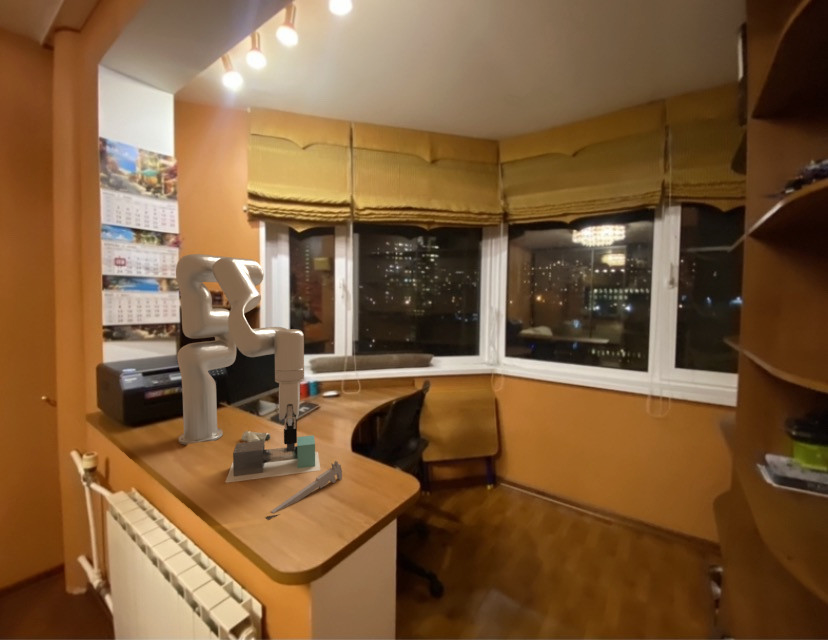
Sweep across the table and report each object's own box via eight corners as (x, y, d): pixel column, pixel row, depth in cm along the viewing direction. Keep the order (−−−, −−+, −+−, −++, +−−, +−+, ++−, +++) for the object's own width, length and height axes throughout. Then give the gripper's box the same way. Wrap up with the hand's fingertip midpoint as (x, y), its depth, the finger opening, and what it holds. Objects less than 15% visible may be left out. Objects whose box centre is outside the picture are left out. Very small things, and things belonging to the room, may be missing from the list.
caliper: (339, 482, 95) (339, 458, 95) (342, 483, 95) (342, 459, 94) (265, 519, 79) (265, 491, 79) (268, 521, 79) (267, 493, 78)
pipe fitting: (258, 452, 113) (270, 442, 120) (257, 440, 113) (270, 430, 119) (235, 450, 115) (248, 440, 122) (234, 438, 114) (248, 428, 121)
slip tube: (256, 460, 101) (255, 428, 101) (309, 454, 106) (309, 423, 105) (255, 466, 98) (254, 432, 97) (310, 459, 102) (309, 427, 102)
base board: (233, 465, 104) (232, 461, 104) (317, 454, 111) (317, 451, 111) (225, 486, 92) (225, 482, 92) (320, 473, 99) (320, 470, 99)
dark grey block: (237, 465, 101) (236, 443, 101) (264, 462, 103) (264, 440, 103) (233, 476, 95) (232, 453, 95) (262, 472, 97) (262, 449, 97)
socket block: (297, 458, 106) (297, 437, 106) (314, 456, 108) (313, 435, 107) (297, 468, 100) (297, 445, 100) (315, 466, 101) (315, 443, 101)
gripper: (276, 369, 108) (277, 427, 109) (273, 383, 91) (274, 451, 93) (303, 368, 110) (304, 424, 111) (305, 381, 94) (305, 447, 95)
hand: (290, 436), depth 102 cm, fingers open, 9 cm apart
